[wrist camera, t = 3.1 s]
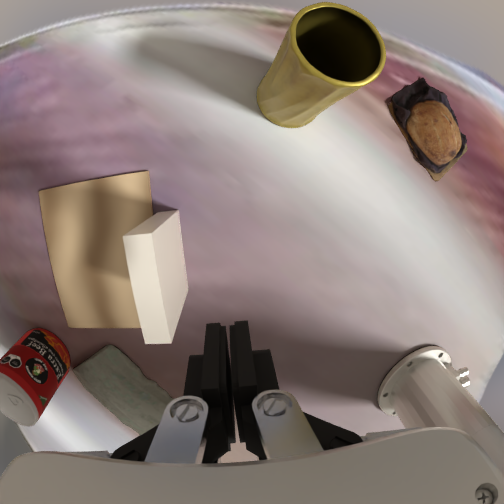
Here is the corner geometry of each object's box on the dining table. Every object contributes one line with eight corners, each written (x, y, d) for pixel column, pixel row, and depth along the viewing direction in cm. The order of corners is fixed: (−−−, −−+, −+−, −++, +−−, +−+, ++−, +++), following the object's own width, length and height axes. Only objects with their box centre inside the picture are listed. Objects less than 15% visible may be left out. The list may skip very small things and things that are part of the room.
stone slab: (114, 332, 33) (69, 369, 32) (109, 343, 30) (63, 380, 30) (228, 432, 39) (180, 458, 39) (231, 445, 36) (180, 470, 36)
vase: (258, 65, 24) (282, -14, 11) (321, 73, 25) (390, 12, 11) (254, 125, 26) (278, 85, 12) (319, 131, 26) (395, 107, 13)
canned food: (82, 361, 32) (47, 419, 21) (53, 381, 33) (21, 432, 22) (43, 315, 30) (-5, 364, 19) (18, 340, 31) (-24, 385, 20)
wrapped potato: (466, 147, 28) (486, 148, 25) (428, 186, 29) (448, 190, 26) (422, 72, 25) (441, 65, 22) (378, 106, 26) (395, 100, 23)
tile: (178, 209, 28) (151, 233, 18) (188, 289, 30) (171, 343, 20) (156, 212, 28) (120, 236, 18) (168, 290, 30) (143, 343, 20)
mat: (148, 170, 26) (147, 171, 26) (171, 324, 31) (170, 326, 30) (40, 190, 26) (38, 191, 25) (70, 325, 30) (68, 327, 30)
